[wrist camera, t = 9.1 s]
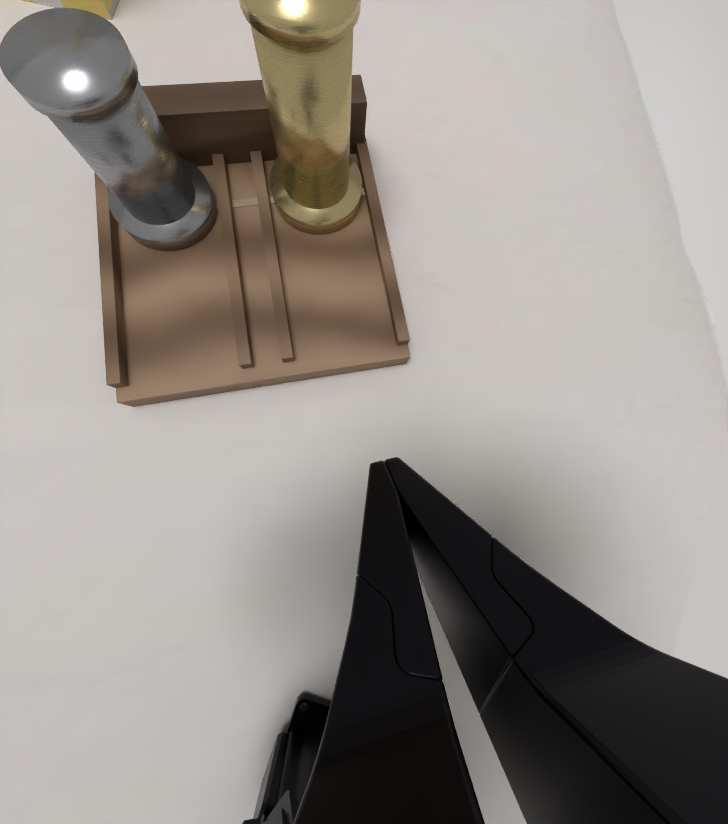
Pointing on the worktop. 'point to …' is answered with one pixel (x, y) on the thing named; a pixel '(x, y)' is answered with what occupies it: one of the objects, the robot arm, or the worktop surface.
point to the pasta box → (84, 5)
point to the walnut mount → (245, 268)
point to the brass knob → (309, 107)
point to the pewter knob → (109, 123)
